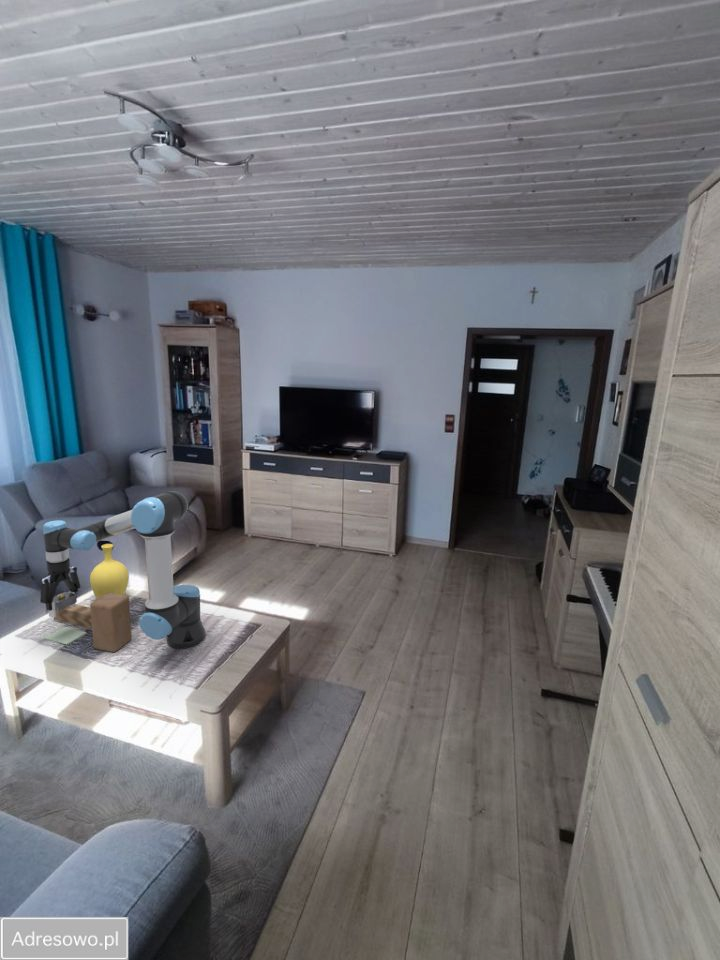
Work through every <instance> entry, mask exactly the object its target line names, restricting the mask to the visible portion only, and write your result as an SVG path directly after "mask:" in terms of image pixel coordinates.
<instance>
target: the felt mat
mask: <svg viewBox="0 0 720 960" xmlns="http://www.w3.org/2000/svg"><path fill="white" fill-rule="evenodd" d="M86 634H88V633H87V631H82V630H78V629H75V628H71V627H67V626H63V627H61V628H59V629H57V630H55V631H54V632H52V633H50V634H49V635H46V636H45V637H43V640H46V641H50V642H52V641H53V642H54V643H56V642H57V643H56V644H60V643H62V644H61V645H63V644H66V645H65V646H68V645H69V643H70V644H71V642H72V641H73V642H75V641H77V640H78V639H81V638H82V637H83V636H85V635H86ZM76 639H77V640H76ZM74 640H75V641H74ZM73 642H72V643H73ZM67 644H68V645H67Z"/></svg>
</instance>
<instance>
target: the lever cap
mask: <svg viewBox="0 0 720 960" xmlns="http://www.w3.org/2000/svg"><path fill="white" fill-rule="evenodd" d="M68 592H69V591H68ZM68 592H67V591H64V592H61V593H59V594H57V595H54V598H53V602H55V611H60V610H62V609H64V608H66V607H68V606H70V605H72V604H74V603H76V604H77V602H78V601H77V593H76V594H72V593H68Z"/></svg>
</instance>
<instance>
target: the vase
mask: <svg viewBox="0 0 720 960" xmlns="http://www.w3.org/2000/svg"><path fill="white" fill-rule="evenodd" d="M113 547H114V544H112V543H105V544H102V545H101V549H102V551H103V553H104V555H103V557H104V558H103V560H102V562H100V563H99V564H97V565H96V566H94V568H93V569H92V571H91V573H90V575H89V576H90V577H89V584H90V587H91V590H92V592H93V594H94V597H95V598H96V599H95V600H97V599H99V598H101V597H102V596H104V595H106V594H108V593H113V594H119V595H125V596H126V591H127V588H128V584H129V579H130V578H129V571H128V569H127V566H126V565H125V564H123V563H122V562H120V561H117V560H115V559H114V558H113V556H112V550H113Z"/></svg>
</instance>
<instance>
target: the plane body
mask: <svg viewBox="0 0 720 960" xmlns="http://www.w3.org/2000/svg"><path fill="white" fill-rule="evenodd" d="M96 600H97V599H95V600H93V601H92V602H94V601H96ZM53 622H55V623H60V624H63V623H64V625H67V624H68V626H71V625H72V626H73V627H75V626H76V628H80V629H83V630H88V631H91V632H92V620H91V609H90V607H89V606H84V605H81V604H77V603H76V607H75V608H74V607H70V606H68V607H66V608H64V609H62V610H60V611H56V617H55V618H53Z"/></svg>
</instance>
